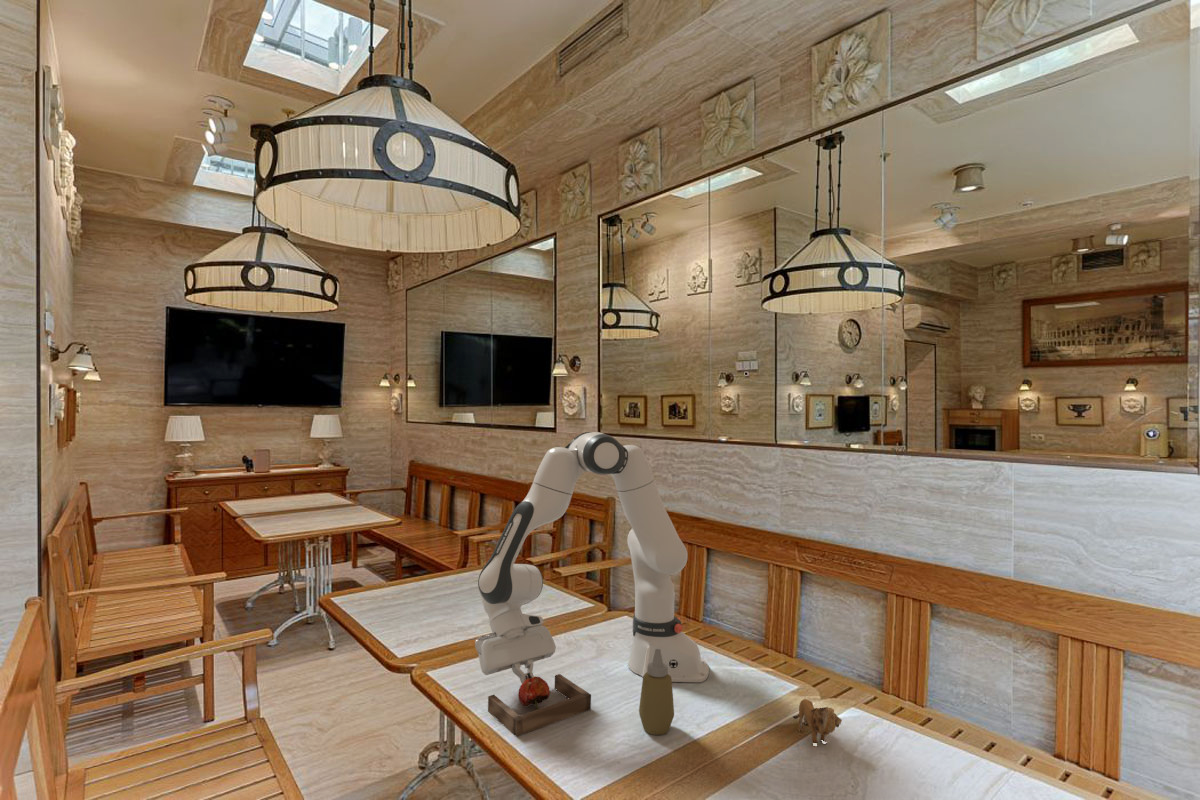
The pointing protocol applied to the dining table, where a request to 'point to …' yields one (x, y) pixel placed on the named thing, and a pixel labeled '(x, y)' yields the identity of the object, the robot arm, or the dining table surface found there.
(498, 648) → the robot arm
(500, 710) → the walnut bay
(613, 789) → the dining table surface
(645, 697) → the squeeze bottle
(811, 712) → the lion figurine
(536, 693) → the red round fruit
